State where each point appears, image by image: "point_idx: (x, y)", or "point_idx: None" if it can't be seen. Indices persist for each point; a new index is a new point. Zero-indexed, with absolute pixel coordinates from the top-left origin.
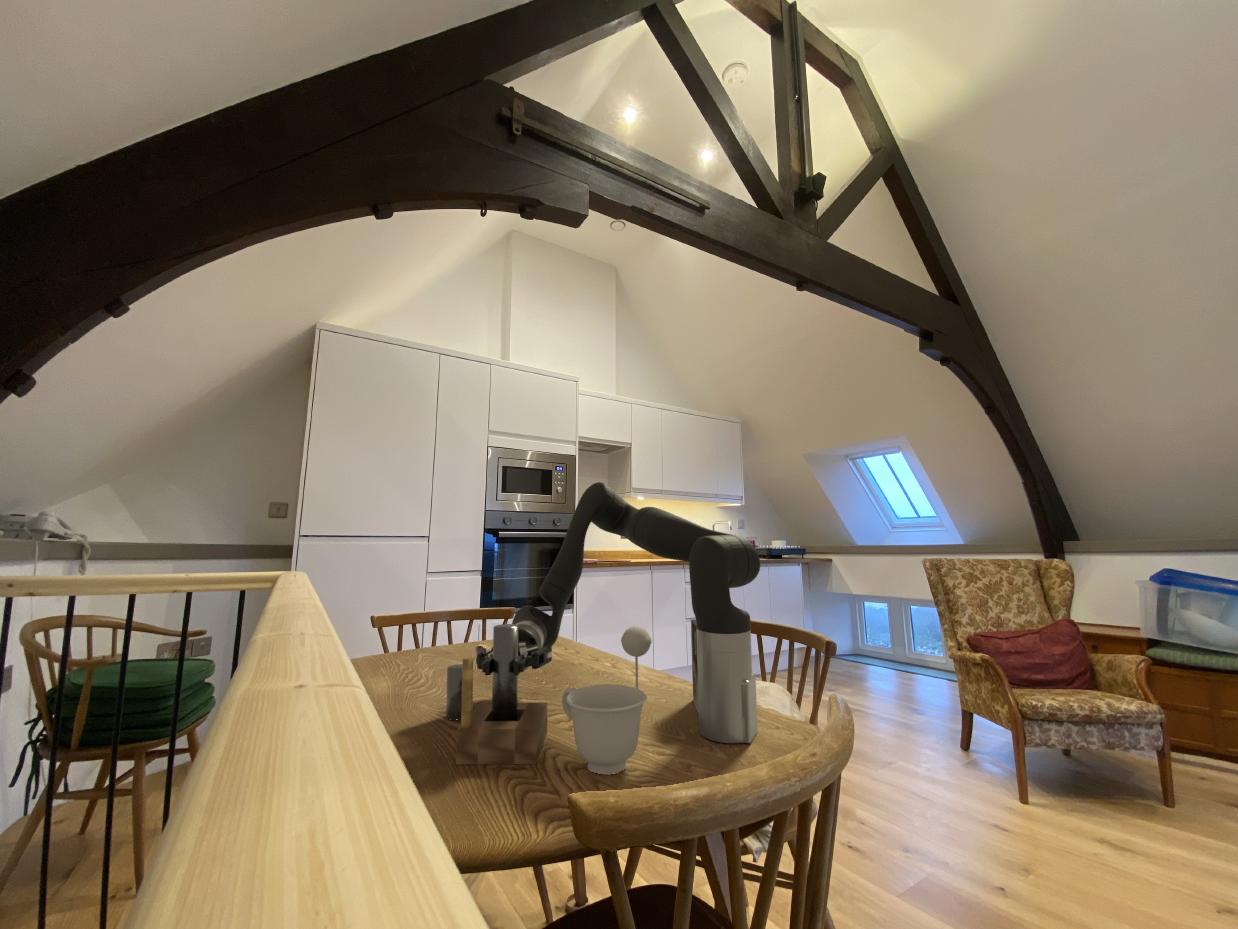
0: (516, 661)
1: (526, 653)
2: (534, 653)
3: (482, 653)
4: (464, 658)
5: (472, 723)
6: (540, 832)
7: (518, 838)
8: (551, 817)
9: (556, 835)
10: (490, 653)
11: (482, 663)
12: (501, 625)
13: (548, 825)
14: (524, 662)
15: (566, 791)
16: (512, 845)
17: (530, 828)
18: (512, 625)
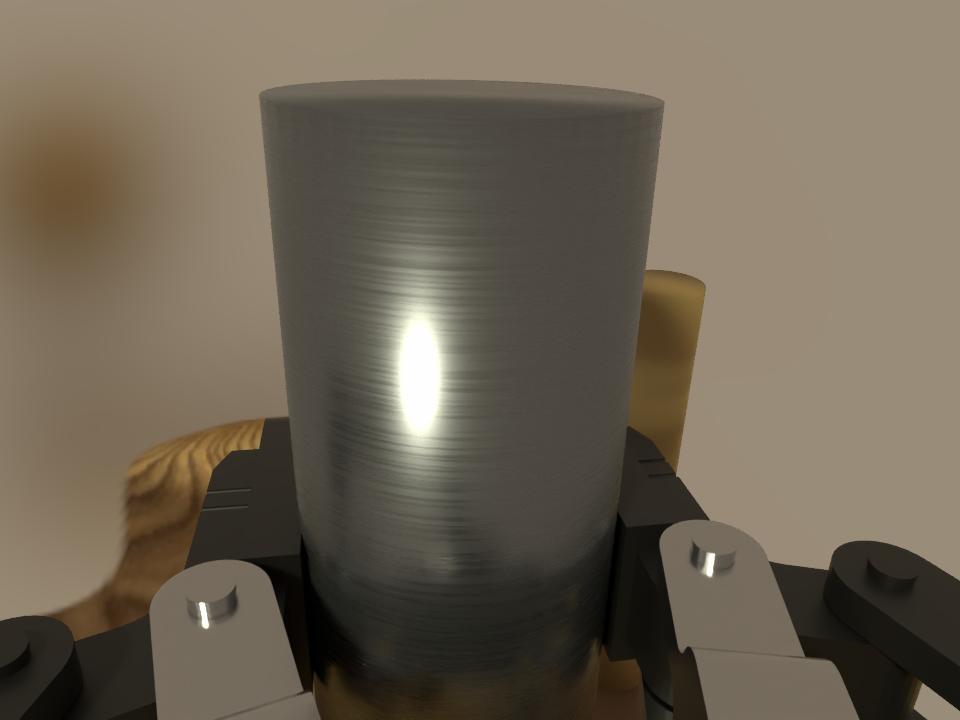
0: (287, 418)
1: (173, 620)
2: (27, 636)
3: (870, 570)
4: (698, 285)
5: (609, 713)
6: (184, 463)
7: (238, 446)
8: (149, 504)
9: (144, 458)
10: (716, 531)
11: (647, 444)
12: (569, 100)
13: (161, 481)
14: (207, 502)
15: (73, 614)
16: (250, 432)
17: (210, 471)
18: (374, 101)
